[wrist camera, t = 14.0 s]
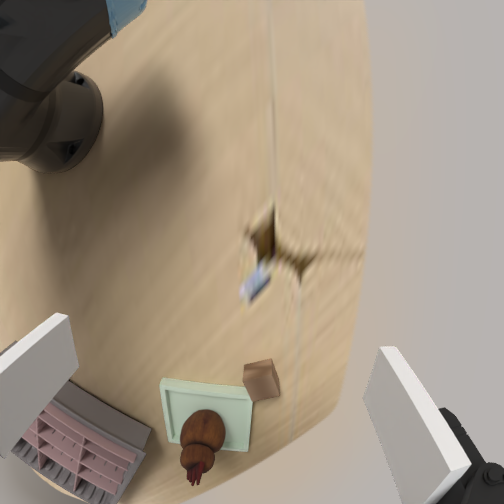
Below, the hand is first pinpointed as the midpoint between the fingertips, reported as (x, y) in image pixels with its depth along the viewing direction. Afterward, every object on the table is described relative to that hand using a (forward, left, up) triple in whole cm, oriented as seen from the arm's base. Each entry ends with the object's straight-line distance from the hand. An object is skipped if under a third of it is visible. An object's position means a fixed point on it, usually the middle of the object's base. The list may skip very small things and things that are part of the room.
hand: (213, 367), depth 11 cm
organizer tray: (-37, -46, -27) cm, 64 cm away
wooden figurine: (-5, -30, -26) cm, 40 cm away
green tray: (-5, -30, -27) cm, 40 cm away
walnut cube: (+3, -20, -27) cm, 33 cm away
